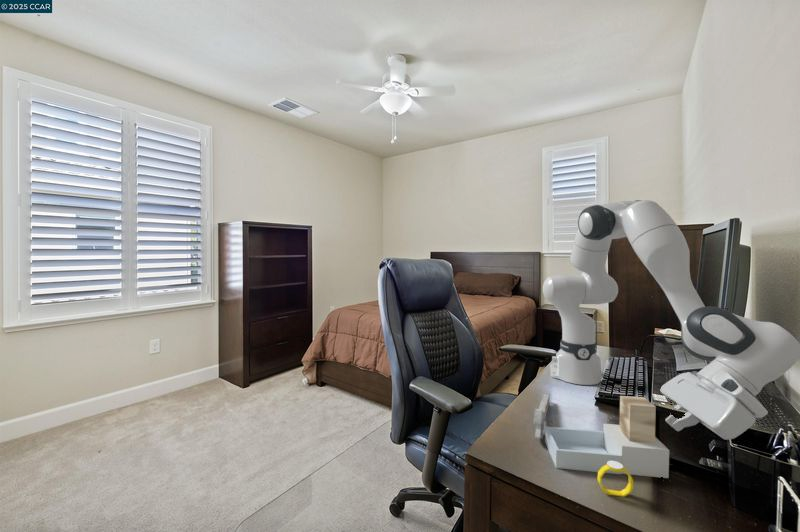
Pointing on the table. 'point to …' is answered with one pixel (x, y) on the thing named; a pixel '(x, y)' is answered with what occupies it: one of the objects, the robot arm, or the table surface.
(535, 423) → the wrench
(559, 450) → the tray
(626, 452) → the riser
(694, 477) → the table surface
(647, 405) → the block
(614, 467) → the watch
